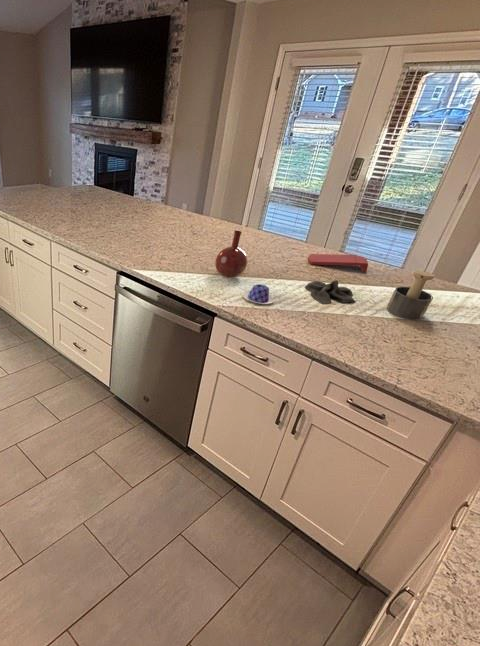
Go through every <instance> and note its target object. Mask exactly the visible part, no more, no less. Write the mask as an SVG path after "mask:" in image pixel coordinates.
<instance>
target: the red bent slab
mask: <svg viewBox="0 0 480 646" xmlns="http://www.w3.org/2000/svg"><path fill="white" fill-rule="evenodd" d="M307 263H308V264H310V265H320V266H321V265H323V266H354V267H355V266H357V267H358V266H359V268H360V272H362V273H366V272H367V271H368V268H369V267H368V266H369V262H368V259H367V258H366V257H363V256H361V255H357V254H335V253H330V254H329V253H310V254H308V257H307Z"/></svg>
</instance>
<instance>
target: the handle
mask: <svg viewBox="0 0 480 646" xmlns="http://www.w3.org/2000/svg"><path fill="white" fill-rule="evenodd" d="M412 276H413V277H414V281H413V282H412V284H411V286H410V287H411V288H410V289H409V291H408V293H407V295H406V296H407V297H410V298H414V299H418V298H419V296H420V294H421V291H422V290H423V289H424V286H425V285H426V283H427V282H428V281H431V280H433V279H434V278H435V274H434V273H431V272H429V271H426V270H420V269H414V270H413V271H412Z"/></svg>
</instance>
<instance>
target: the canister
mask: <svg viewBox="0 0 480 646" xmlns="http://www.w3.org/2000/svg"><path fill="white" fill-rule="evenodd" d="M410 288H411V286H396V287H394V289H393V292H392V294H391V296H390V297H389V300H388V302H387V304H386V308H385V309H386V310H387V312H389V313H390V314H391V315H394V316H396V317H398V318H402V319H404V320H405V319H406V320H412V321H413V320H415V321H419V320H422V319H423V318H424V317H425V315H426V314H427V311H428V309H429V307H430V306H431V303H432V302H433V300H434V296H433V295H432V294H431V293H429V292H428V291H425V290H423V289H422V291H421V294H420V296H419V298H418V299H414V298H410V297H407V296H406V295H407V293H408V291H409V289H410Z"/></svg>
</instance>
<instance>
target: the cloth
mask: <svg viewBox="0 0 480 646" xmlns="http://www.w3.org/2000/svg"><path fill="white" fill-rule="evenodd" d="M304 288H305V290H307V291H309V292H310V296H311V298H313V299H314V300H316V301H317V302H319V303H320V304H322V305H328V304H332V300H334V301H336V302H338V303H340V304H346V303H356V301H355V299H354V298H353V297H354V295H353V291H352V290H351V289H350V288H349V287H346V286H339V280H337V279H334V280H332V281H331V282H330V283H327V284H326V283H325V282H324V281H319V280H313V281H310V282H309V283H307V284H306V285H305V286H304Z"/></svg>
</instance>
